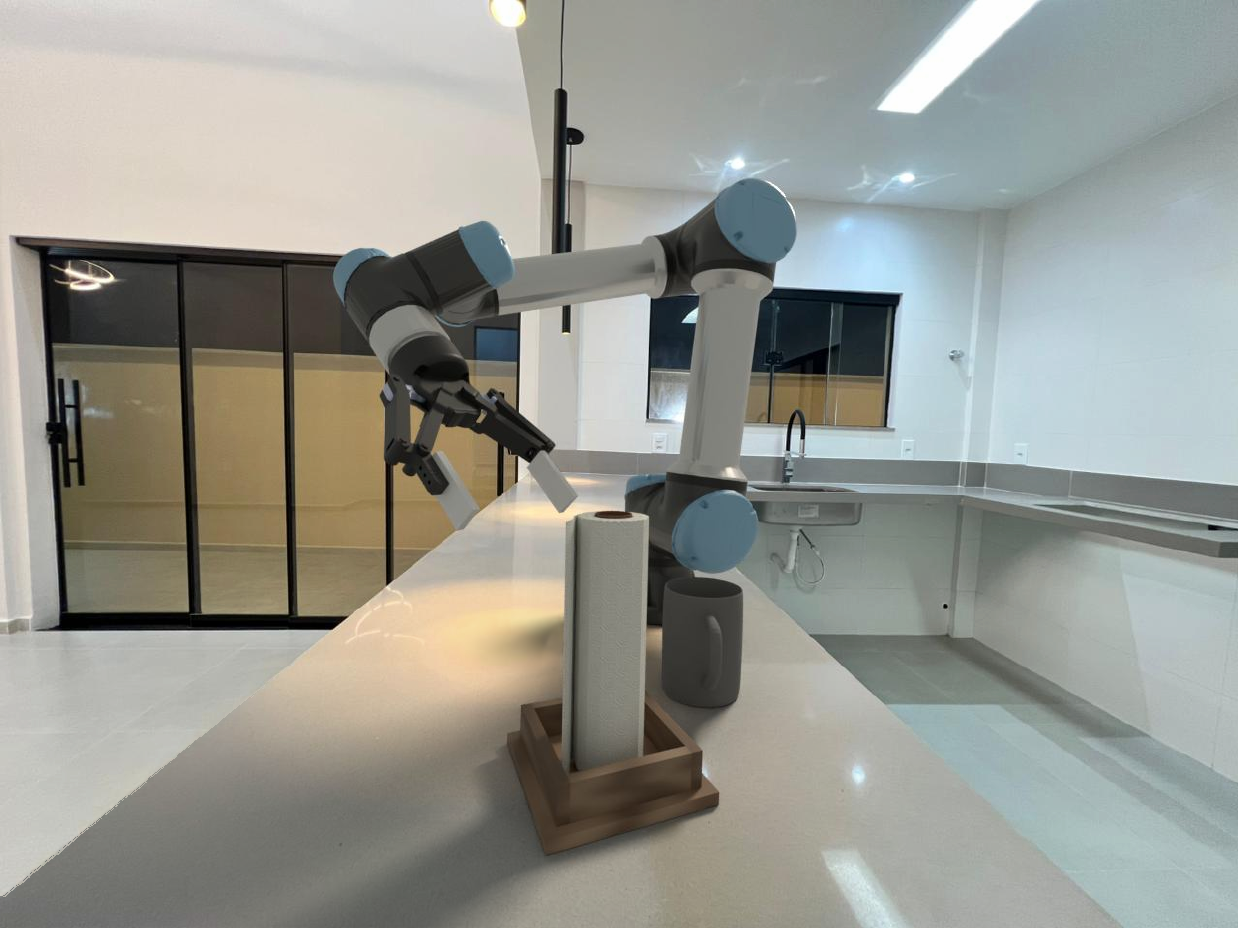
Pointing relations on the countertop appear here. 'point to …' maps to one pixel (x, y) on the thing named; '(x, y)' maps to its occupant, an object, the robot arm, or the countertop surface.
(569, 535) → the paper towel roll
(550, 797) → the wooden tray
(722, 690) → the mug
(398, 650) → the countertop surface
